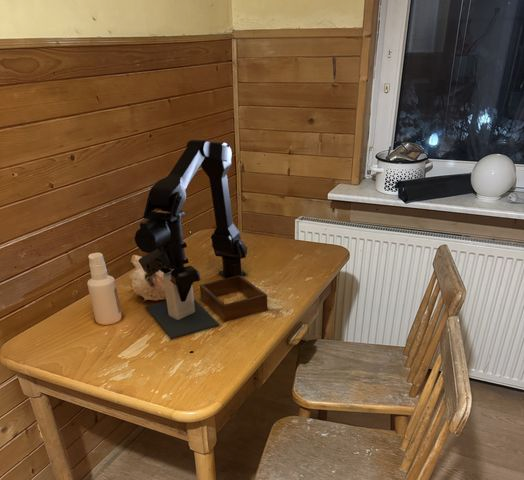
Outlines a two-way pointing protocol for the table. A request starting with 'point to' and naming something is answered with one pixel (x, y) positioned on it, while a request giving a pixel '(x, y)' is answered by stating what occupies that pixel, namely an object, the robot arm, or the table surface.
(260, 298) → the crate
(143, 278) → the beige seashell
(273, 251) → the table surface
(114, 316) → the spray bottle
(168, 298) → the cosmetic box
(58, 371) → the table surface
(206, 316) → the mat
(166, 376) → the table surface
